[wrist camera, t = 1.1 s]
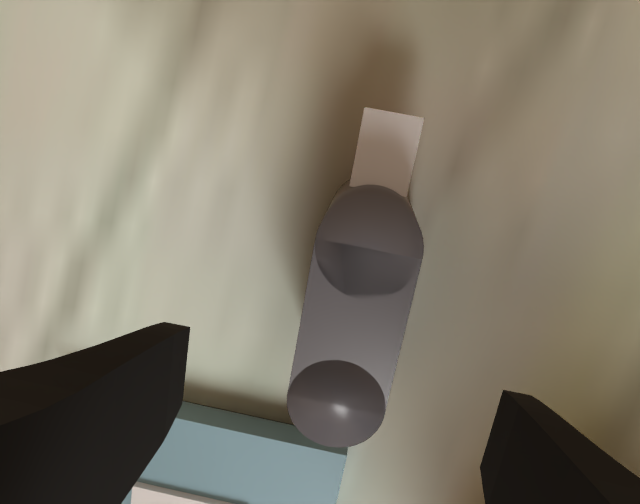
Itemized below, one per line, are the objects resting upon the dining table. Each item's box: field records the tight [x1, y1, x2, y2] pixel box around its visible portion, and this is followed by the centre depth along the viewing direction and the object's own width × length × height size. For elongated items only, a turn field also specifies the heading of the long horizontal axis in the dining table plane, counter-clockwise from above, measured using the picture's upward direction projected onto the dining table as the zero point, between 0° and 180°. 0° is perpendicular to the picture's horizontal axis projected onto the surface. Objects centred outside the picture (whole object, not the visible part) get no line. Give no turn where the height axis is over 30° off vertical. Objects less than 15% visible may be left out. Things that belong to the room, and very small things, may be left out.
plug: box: [287, 107, 424, 448], centre depth 17 cm, size 3×10×5 cm, turn 170°
